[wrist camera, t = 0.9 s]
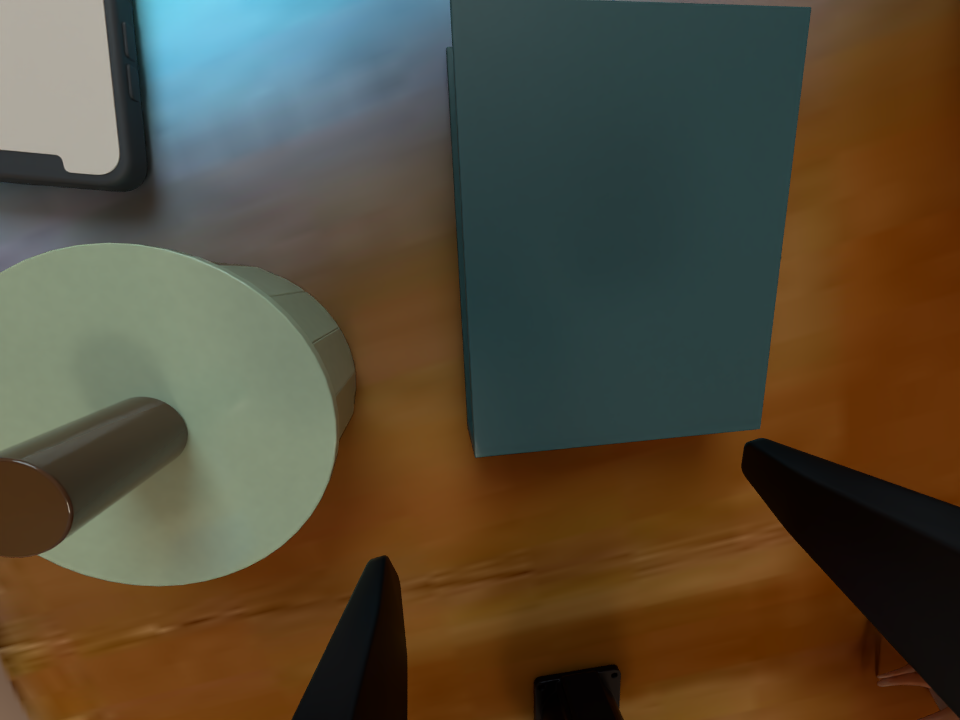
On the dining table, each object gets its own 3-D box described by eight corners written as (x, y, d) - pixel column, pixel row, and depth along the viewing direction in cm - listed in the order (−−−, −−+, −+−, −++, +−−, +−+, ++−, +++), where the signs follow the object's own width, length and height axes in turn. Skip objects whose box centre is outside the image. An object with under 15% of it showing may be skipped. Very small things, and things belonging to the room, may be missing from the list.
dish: (402, 392, 23) (391, 438, 16) (240, 524, 23) (169, 617, 17) (235, 211, 20) (144, 181, 13) (53, 367, 20) (-119, 410, 14)
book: (710, 405, 26) (760, 429, 22) (467, 428, 24) (474, 458, 20) (741, 55, 21) (811, 7, 17) (446, 50, 19) (450, -5, 15)
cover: (409, 433, 17) (398, 519, 11) (178, 619, 18) (49, 797, 12) (155, 164, 14) (-57, 79, 8) (-120, 404, 14) (-516, 497, 8)
